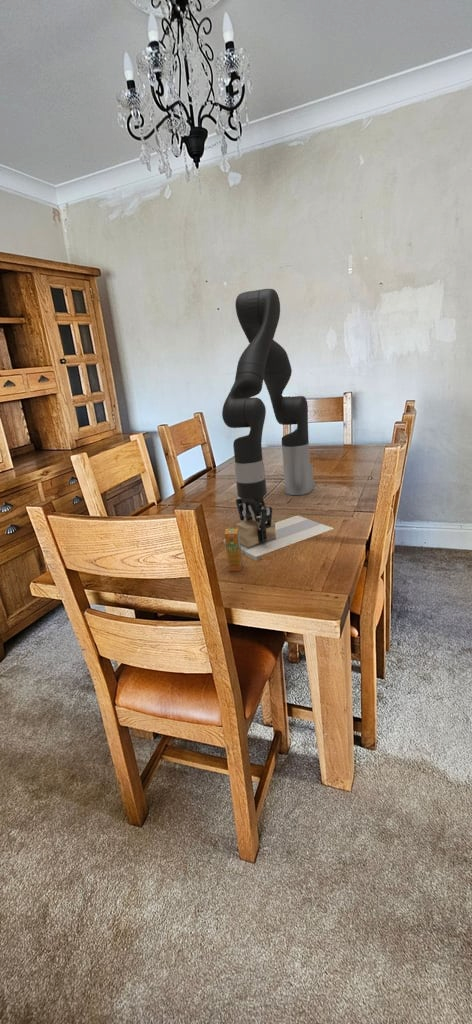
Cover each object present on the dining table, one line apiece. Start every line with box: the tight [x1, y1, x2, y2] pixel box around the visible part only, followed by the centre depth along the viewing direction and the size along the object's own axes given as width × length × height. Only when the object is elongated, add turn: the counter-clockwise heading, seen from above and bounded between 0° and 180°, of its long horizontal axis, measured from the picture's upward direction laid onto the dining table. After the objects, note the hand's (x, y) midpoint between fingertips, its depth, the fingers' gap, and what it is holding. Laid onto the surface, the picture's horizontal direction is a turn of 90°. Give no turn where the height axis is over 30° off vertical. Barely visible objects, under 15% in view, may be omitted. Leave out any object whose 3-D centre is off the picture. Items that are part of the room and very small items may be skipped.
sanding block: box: [235, 515, 276, 549], centre depth 127 cm, size 9×5×6 cm, turn 122°
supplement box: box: [224, 527, 244, 572], centre depth 115 cm, size 3×3×10 cm
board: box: [222, 514, 334, 562], centre depth 131 cm, size 26×16×1 cm, turn 122°
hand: (256, 538), depth 128 cm, fingers closed on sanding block, 5 cm apart
